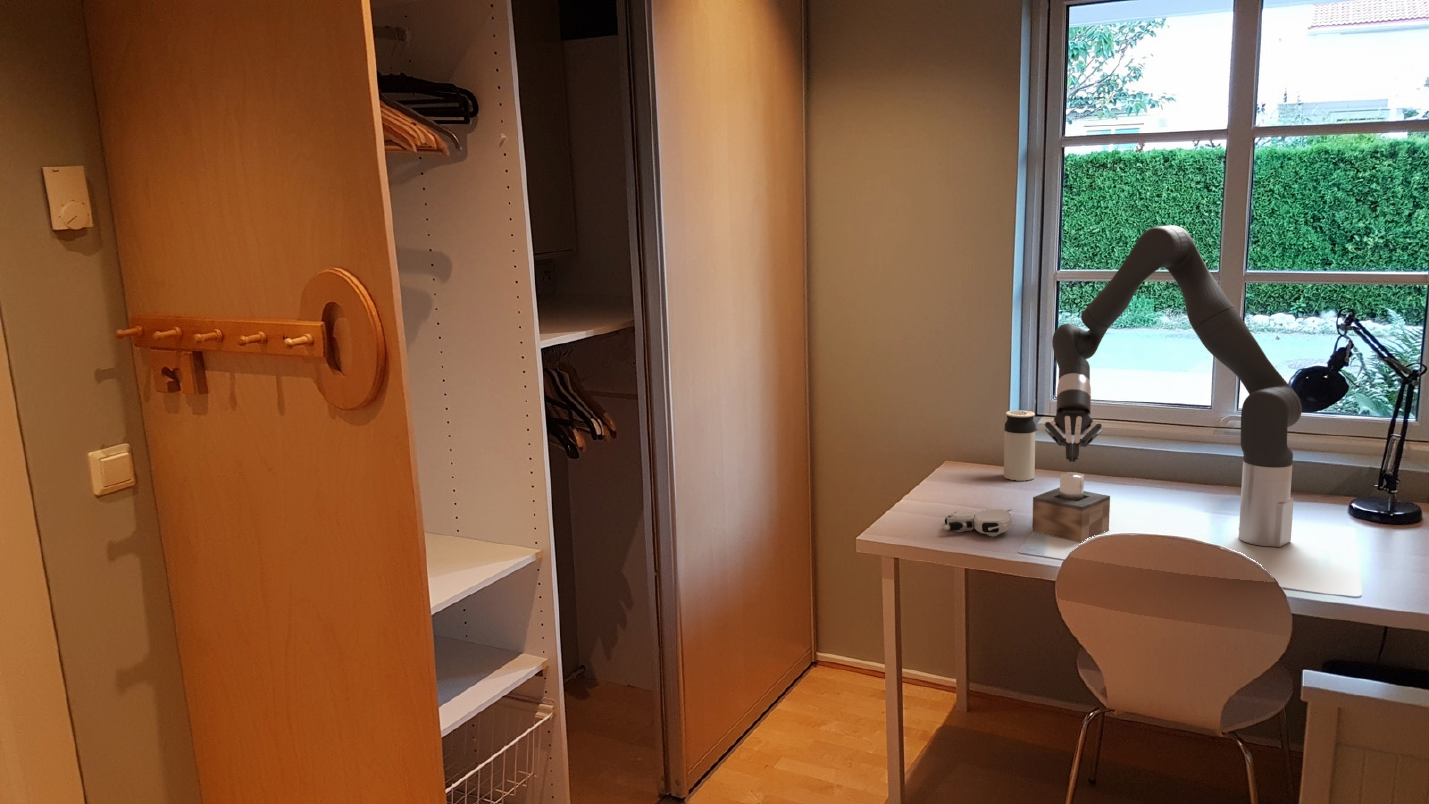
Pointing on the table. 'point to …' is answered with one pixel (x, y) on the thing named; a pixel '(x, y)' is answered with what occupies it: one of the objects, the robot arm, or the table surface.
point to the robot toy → (980, 521)
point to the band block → (1071, 515)
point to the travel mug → (1019, 445)
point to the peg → (1071, 486)
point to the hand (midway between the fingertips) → (1072, 460)
